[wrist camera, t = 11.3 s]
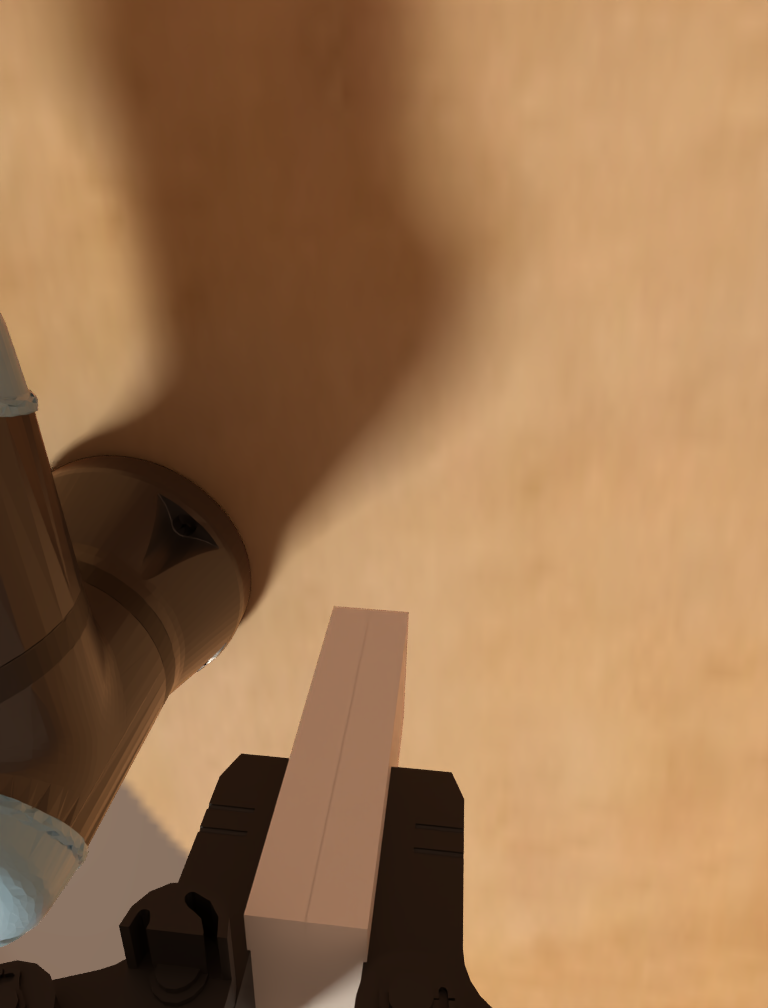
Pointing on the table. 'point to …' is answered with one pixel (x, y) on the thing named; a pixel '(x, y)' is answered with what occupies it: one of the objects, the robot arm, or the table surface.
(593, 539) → the table surface
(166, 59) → the table surface
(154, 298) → the table surface
